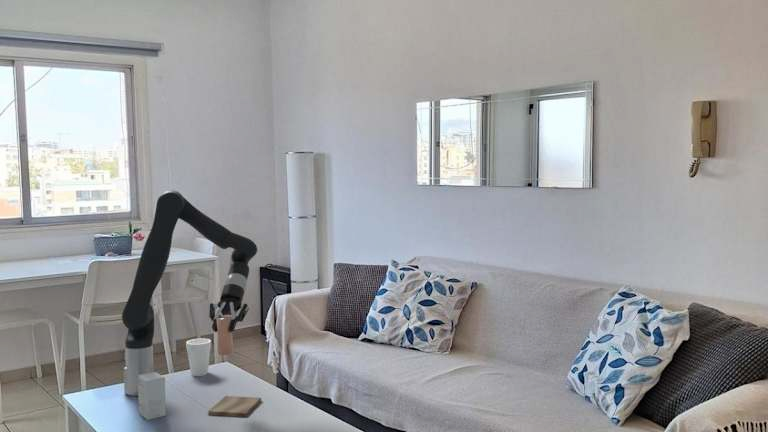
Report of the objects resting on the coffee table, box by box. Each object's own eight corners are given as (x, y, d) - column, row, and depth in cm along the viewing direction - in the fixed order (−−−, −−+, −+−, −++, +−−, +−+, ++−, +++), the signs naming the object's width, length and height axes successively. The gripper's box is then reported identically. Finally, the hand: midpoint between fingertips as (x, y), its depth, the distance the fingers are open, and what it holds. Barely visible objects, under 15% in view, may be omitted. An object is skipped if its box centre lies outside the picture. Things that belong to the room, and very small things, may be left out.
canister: (215, 354, 226) (214, 319, 225) (221, 350, 231) (219, 316, 230) (229, 355, 225) (228, 320, 224) (235, 351, 230) (233, 316, 229)
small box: (166, 415, 220) (165, 377, 219) (147, 420, 216) (146, 381, 215) (157, 409, 227) (156, 371, 226) (138, 413, 223) (137, 375, 222)
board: (208, 414, 221) (208, 411, 221) (225, 399, 236) (225, 395, 236) (246, 416, 219) (246, 413, 219) (261, 401, 234) (261, 397, 234)
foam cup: (207, 377, 260) (206, 344, 260) (183, 377, 261) (183, 344, 260) (214, 369, 270) (213, 338, 269) (191, 369, 270) (190, 338, 269)
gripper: (211, 282, 235) (198, 324, 224) (250, 283, 233) (239, 325, 222) (218, 294, 240) (205, 336, 229) (256, 295, 238) (245, 337, 227)
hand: (222, 330), depth 226 cm, fingers closed on canister, 5 cm apart
